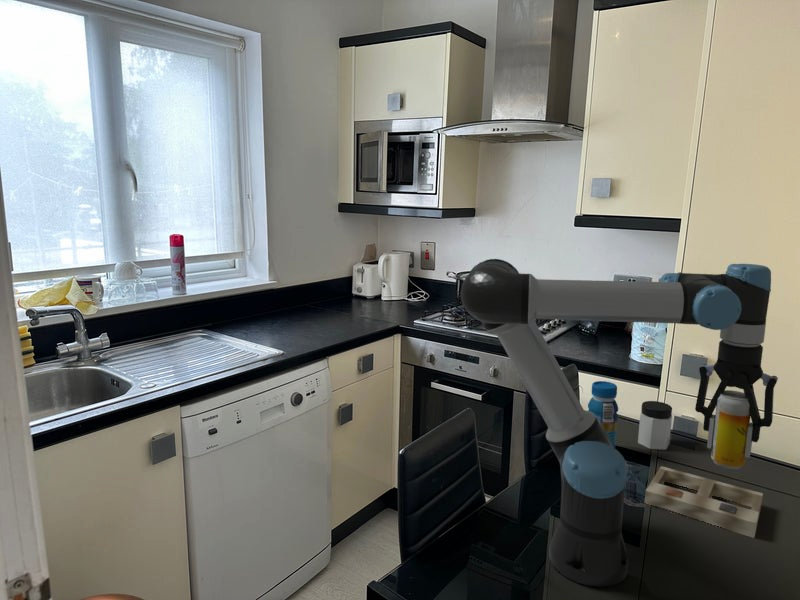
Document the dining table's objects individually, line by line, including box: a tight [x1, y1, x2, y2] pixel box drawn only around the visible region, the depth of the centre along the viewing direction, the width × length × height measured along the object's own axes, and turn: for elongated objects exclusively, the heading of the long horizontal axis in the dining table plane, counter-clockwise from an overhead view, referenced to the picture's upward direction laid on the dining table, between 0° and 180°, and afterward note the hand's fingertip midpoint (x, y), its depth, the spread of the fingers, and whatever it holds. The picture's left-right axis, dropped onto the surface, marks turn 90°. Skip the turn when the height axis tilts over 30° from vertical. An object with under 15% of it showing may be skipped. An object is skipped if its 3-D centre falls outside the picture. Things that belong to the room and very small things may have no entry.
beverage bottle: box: [587, 380, 619, 449], centre depth 161 cm, size 8×8×20 cm
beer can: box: [710, 389, 751, 470], centre depth 115 cm, size 6×6×15 cm
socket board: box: [644, 465, 764, 539], centre depth 134 cm, size 22×16×4 cm
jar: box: [637, 400, 673, 451], centre depth 166 cm, size 9×8×12 cm
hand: (728, 450), depth 116 cm, fingers closed on beer can, 6 cm apart
